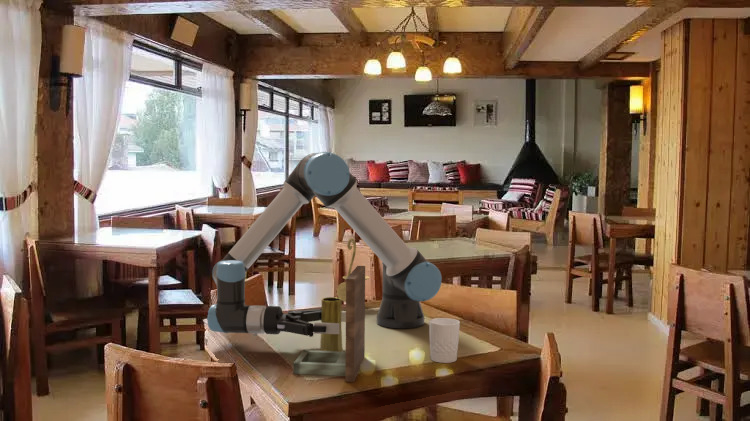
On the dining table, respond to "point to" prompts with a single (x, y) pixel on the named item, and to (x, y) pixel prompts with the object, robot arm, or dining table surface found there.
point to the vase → (331, 315)
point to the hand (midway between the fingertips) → (343, 322)
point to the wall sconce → (342, 287)
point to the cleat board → (355, 337)
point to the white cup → (444, 339)
